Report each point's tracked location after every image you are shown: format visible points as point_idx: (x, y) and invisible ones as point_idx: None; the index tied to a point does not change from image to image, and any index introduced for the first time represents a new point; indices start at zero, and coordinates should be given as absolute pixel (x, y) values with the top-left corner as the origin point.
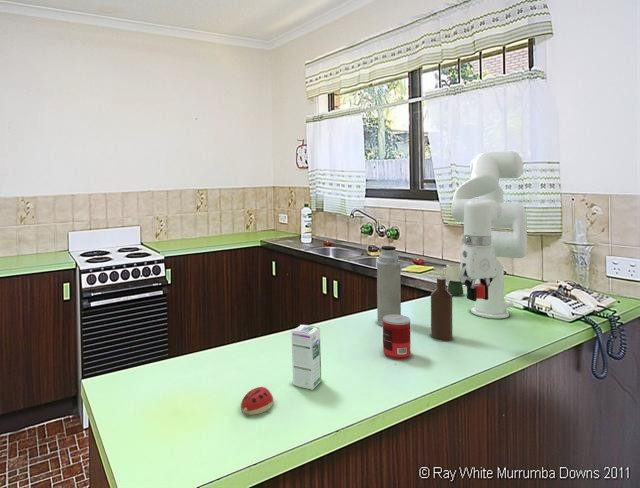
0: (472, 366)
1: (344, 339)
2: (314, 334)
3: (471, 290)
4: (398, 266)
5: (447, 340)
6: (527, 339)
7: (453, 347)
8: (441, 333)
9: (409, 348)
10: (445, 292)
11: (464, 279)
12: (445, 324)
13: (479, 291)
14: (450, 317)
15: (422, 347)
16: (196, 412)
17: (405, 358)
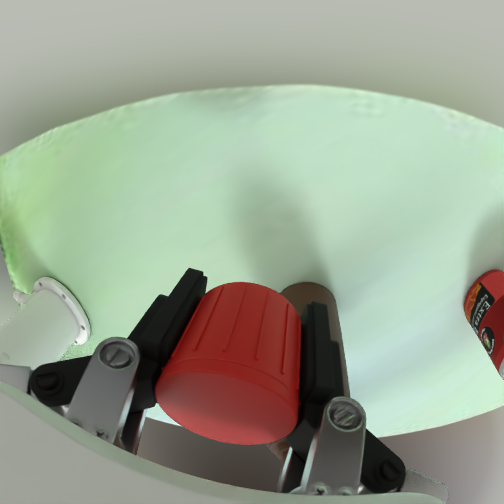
0: (443, 135)
1: (458, 382)
2: None
3: (340, 388)
4: None
5: (319, 285)
6: (97, 160)
7: (357, 245)
8: (335, 308)
9: (500, 281)
10: None
11: (415, 491)
12: (330, 322)
13: (281, 347)
14: None
15: (418, 293)
16: None
17: (497, 270)
